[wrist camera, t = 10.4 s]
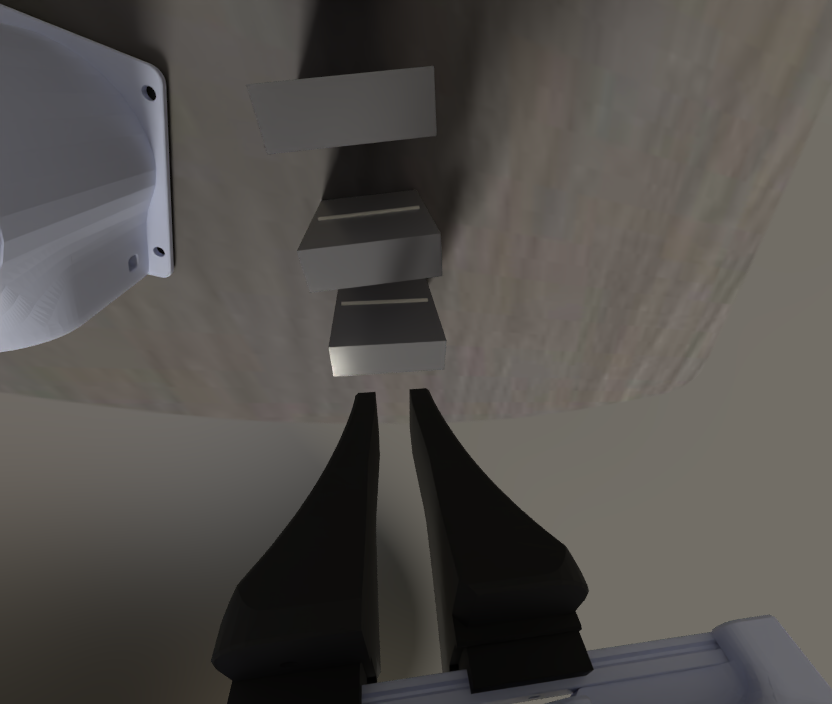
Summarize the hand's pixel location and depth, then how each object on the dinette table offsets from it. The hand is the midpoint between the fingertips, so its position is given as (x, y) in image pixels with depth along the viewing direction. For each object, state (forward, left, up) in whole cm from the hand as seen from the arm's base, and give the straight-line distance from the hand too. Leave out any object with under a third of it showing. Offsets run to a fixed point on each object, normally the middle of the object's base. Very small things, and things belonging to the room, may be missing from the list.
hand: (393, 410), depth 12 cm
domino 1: (+8, +4, -10) cm, 14 cm away
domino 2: (+4, +2, -10) cm, 11 cm away
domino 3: (0, 0, -10) cm, 10 cm away
